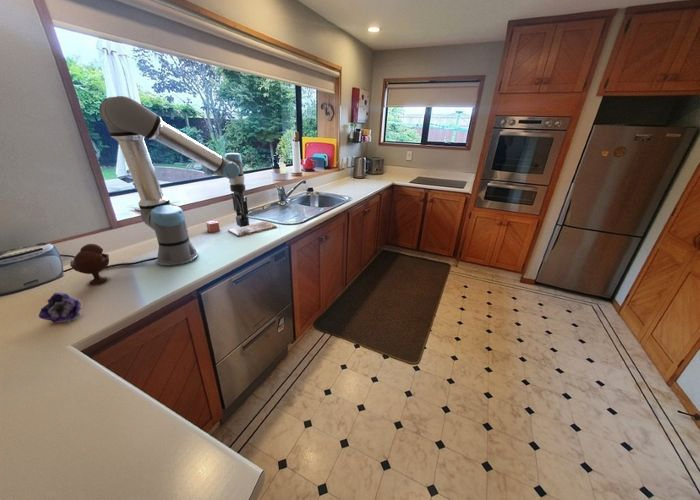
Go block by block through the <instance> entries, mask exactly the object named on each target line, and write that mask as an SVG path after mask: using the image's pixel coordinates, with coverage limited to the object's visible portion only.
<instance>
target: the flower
mask: <svg viewBox="0 0 700 500" xmlns="http://www.w3.org/2000/svg"><path fill="white" fill-rule="evenodd" d="M46 301H47V304H45V305H44V306H43V307H41V308H40V311H39V314H38V317H39V319H42V320H45V321H49V322H51V323H52V324H57V323H63V324H64V323H67V324H68V323H70V322H71V321H74V320H76V319H77V318H79V317H81V309H82V301H81V300H80V299H77V298H75V297H73V296H71V295H69V294H68V293H66V292H54V293H53V294H52V295H51V297H50V298H49V299H47V300H46Z"/></svg>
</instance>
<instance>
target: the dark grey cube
mask: <svg viewBox="0 0 700 500" xmlns="http://www.w3.org/2000/svg"><path fill="white" fill-rule="evenodd" d="M235 220H236V226H237V227H243V226H242V219H241V216H237V215H236V216H235ZM247 224H248V225H250V219H249V217H248V216H247Z"/></svg>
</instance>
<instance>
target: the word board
mask: <svg viewBox="0 0 700 500" xmlns="http://www.w3.org/2000/svg"><path fill="white" fill-rule="evenodd" d="M276 228H277V225H275V224H273V223H271V222H269V221H266V220H265V221H261V222H256V223H251V224H249V225H248V226H244V227H240V226H237V227H233V228H229V229H228V232H229V233H231V234H232V235H234V236H236V237H238V238H239V237H243V236H244V237H245V236H247V235H251V234H256V233H259V232H265V231H269V230H272V229H276Z"/></svg>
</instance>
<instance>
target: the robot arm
mask: <svg viewBox="0 0 700 500" xmlns="http://www.w3.org/2000/svg"><path fill="white" fill-rule="evenodd" d="M98 113H99V116H100V118H101V120H102V121H103V122H104V124H105V125H106V128H107V130H108V132H109V135H110V137H111V138H112V139H114V140H115V141H117V143H118V145H119V148H120V151H121V153H122V155H123V158H124V160H125V163H126V165H127V169H128V170H129V173H130V176H131V178H132V180H133V183H134V186H135V188H136V191H137V194H138V197H139V199H140V200H139V201H138V203H137V204H138V207H139V210H140V216H141V220H142V221H143V223H144V224H145V225H146V226H148V227H149V228H151V229H152V230H153V231H154V233H155V236H156V240H157V244H158V251H157V256H156V257H151V258H147V259H142V260H139V261H133V262H120V263H114V264H113V263H112V264H110V265H109V264H108V265H107V267H106V268H104V269H103V270H106V269H109V268H114V267H119V266H134V265H139V264H142V263H146V262H151V261H155V260H157V263H158V265H160V266H162V267H178V266H184V265H187V264H189V263H191V262H194V261H195V260H196V259H197V258H198V252H197V250H196V249H195V247H194V246H193V244H192V242H191V241H190V237H189V232H188V228H187V227H188V226H187V222H186V215H185V213H184V211H183V209H182V208H181V207H179V206H176V205H171V202H170V198H169V197H167V196H165V195H164V193H163V190H162V187H161V185H160V182H159V179H158V176H157V174H156V171H155V168H154V165H153V162H152V159H151V155H150V153H149V151H148V147H147V145H146V142H145V139H147V140H155V141H157V142H159V143H161V144H162V145H164V146H167V147H168V148H169V149H172V150H174V151H175V152H178V153H179V154H181V155H183V156H185V157H187V158H189V159H190V160H192V161H194V162H196V163H198V164H200V165H201V169H202V172H203V173H204V175H206V176H213V175H216V176H219V177H222V178H223V177H224V178H226V179H228V183H229V188H230V192H232V193H231V199H232V206H233V210H234V212H235V214H236V216H241V219H242V226H243V227H244V226H248V224H247V217H248V216H247V215H249V208H248V197H247V196H245V195H244V192H245V191H246V184H245V175H244V166H243V159H242V155H241V153H238V152H227V153H225V155H224V156H225V157H223V156H222V155H219V154H218V153H216V152H215V151H213V150H211V149H209V148H208V147H207V146H205V145H203V144H202V143H199V142H198V141H197V140H195V139H193V138H191V137H190V136H188V135H186V134H185V133H184V132H181V131H179V130H178V129H176V128H174V127H173V126H171V125H170V124H167V123H166V122H165V121H163V119H162V117H161V116H160V115H158V114H157V113H155V112H153V111H152V110H151V109H149V108H147V107H146V106H144V105H143V104H142V103H140V102H139V101H137V100H135V99H133V98H131V97H128V96H124V95H117V96H109V97H106V98H105V99H103V100H102V101H101V102H100V105H99V108H98Z"/></svg>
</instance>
